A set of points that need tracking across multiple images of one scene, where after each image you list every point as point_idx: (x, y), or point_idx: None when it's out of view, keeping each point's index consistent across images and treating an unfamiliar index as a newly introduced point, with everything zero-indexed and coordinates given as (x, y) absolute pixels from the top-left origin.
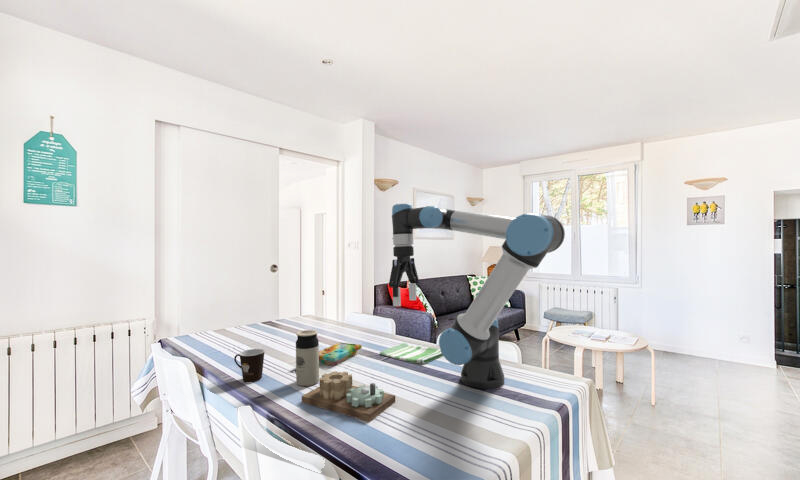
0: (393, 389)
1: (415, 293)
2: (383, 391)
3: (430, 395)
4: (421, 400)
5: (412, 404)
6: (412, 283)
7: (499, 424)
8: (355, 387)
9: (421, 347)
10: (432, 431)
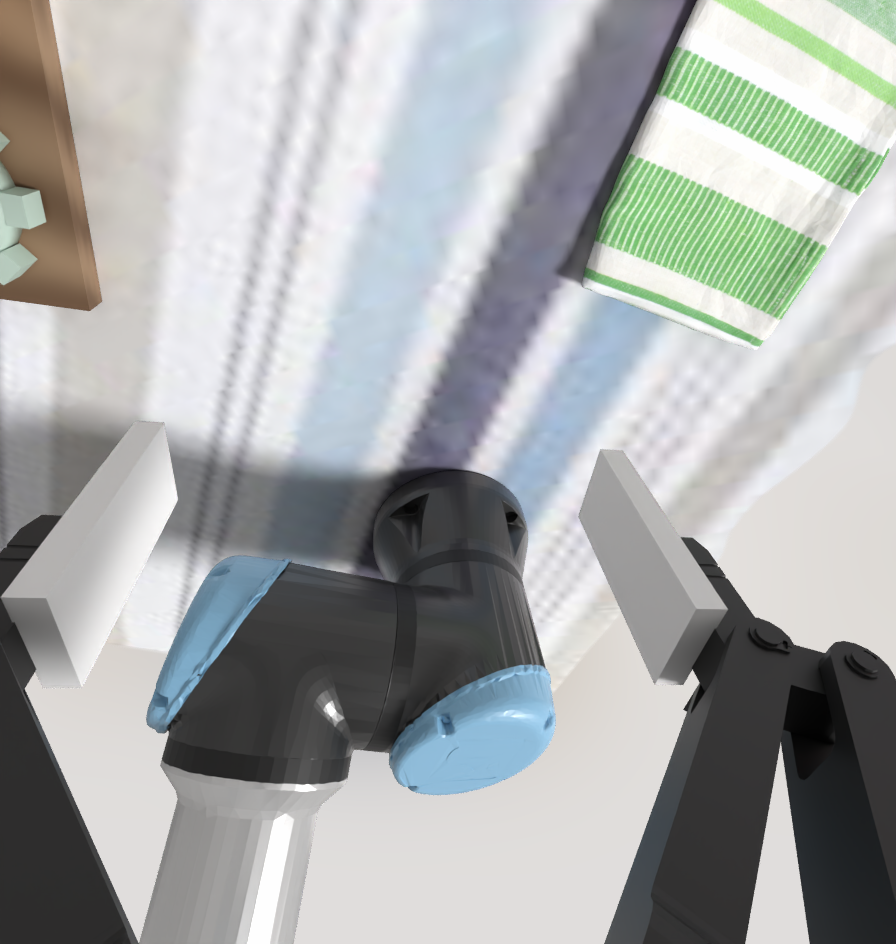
0: (213, 241)
1: (605, 572)
2: (3, 283)
3: (241, 409)
4: (180, 392)
5: (127, 372)
6: (678, 653)
7: (168, 602)
8: (21, 38)
9: (850, 193)
10: (5, 480)
